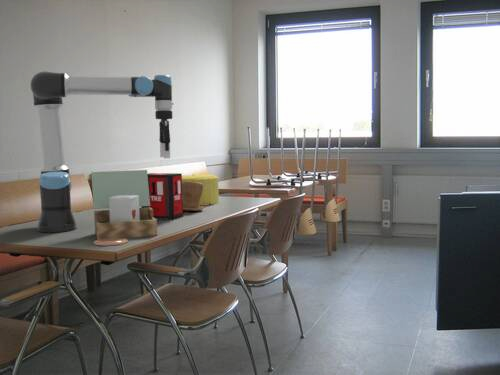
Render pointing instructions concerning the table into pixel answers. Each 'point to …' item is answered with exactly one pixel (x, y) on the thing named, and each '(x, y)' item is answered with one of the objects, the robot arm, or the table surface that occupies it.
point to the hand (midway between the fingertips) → (165, 157)
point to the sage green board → (119, 186)
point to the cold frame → (125, 225)
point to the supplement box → (124, 208)
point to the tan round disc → (110, 241)
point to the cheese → (205, 187)
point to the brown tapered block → (191, 195)
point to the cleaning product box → (165, 195)
